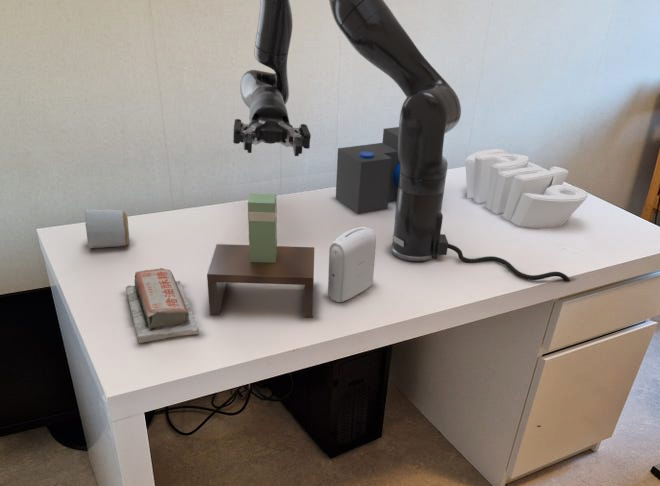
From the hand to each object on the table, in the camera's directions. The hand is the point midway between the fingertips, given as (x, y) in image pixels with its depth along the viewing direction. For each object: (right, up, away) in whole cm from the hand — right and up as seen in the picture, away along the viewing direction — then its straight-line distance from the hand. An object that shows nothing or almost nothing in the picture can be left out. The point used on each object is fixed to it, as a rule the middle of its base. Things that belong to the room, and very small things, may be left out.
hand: (273, 149), depth 119 cm
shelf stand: (-2, -27, +2) cm, 27 cm away
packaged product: (-19, -30, -3) cm, 36 cm away
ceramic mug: (-36, -13, +19) cm, 43 cm away
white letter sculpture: (+56, 0, +46) cm, 72 cm away
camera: (+26, +1, +45) cm, 52 cm away
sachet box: (-2, -20, -1) cm, 20 cm away
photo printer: (+14, -25, +6) cm, 29 cm away
